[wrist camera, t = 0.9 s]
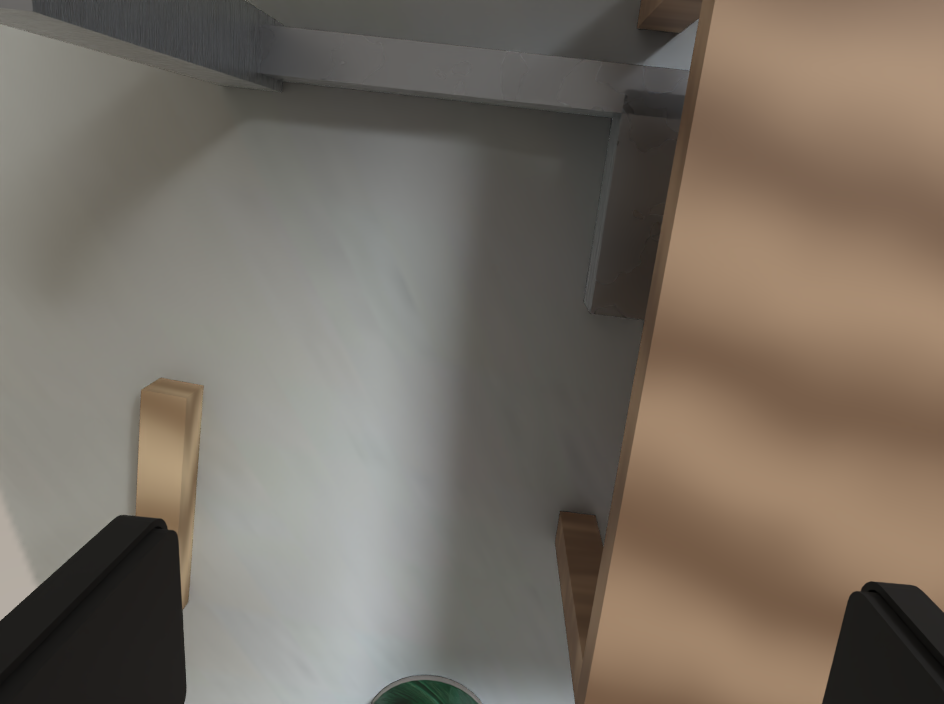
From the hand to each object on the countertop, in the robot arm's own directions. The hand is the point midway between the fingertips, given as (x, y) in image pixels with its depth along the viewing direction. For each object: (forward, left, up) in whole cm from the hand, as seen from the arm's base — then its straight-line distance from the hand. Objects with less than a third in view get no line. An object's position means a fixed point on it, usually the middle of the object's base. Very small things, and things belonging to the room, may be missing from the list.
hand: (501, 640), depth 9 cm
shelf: (-1, +12, -27) cm, 29 cm away
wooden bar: (+14, -18, -27) cm, 35 cm away
